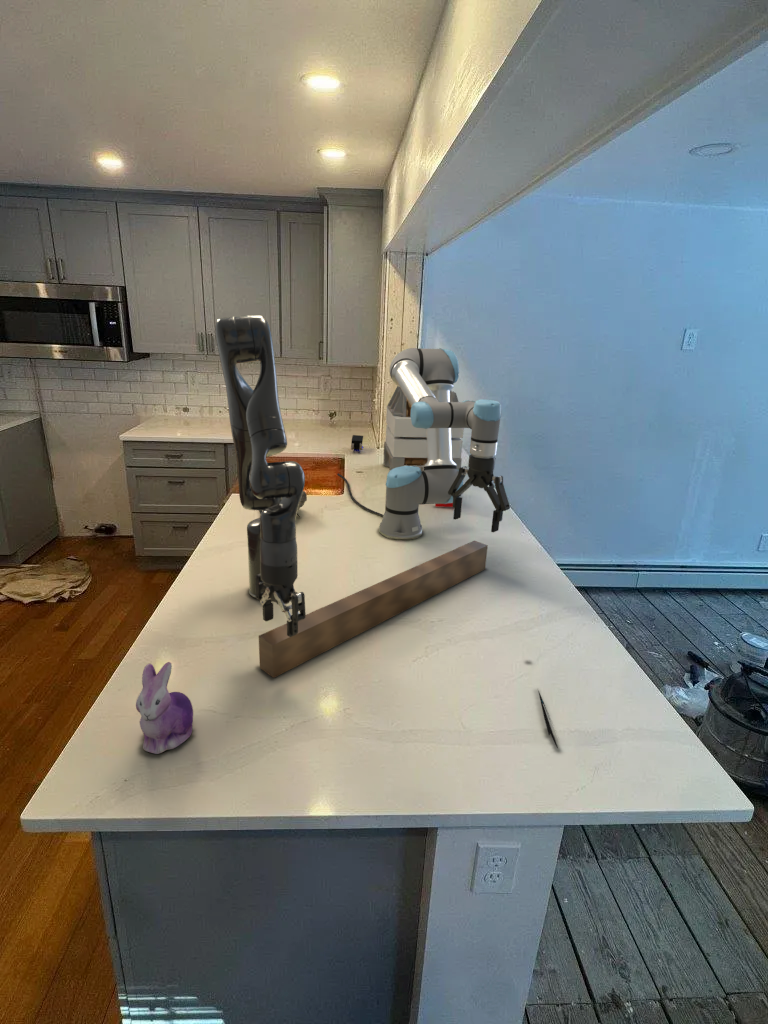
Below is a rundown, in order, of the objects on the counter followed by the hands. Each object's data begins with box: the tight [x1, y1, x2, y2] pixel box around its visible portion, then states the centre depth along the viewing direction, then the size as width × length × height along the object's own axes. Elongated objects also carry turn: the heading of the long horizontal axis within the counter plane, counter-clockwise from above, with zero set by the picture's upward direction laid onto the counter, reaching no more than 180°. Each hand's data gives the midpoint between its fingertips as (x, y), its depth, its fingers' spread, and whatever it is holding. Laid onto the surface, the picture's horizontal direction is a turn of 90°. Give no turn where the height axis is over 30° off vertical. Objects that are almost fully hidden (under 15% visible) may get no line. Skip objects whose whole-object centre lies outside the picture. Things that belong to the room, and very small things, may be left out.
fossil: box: [296, 490, 308, 518], centre depth 209 cm, size 22×10×15 cm
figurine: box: [135, 661, 194, 755], centre depth 100 cm, size 9×10×15 cm
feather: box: [528, 660, 560, 749], centre depth 116 cm, size 2×28×2 cm
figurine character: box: [350, 434, 364, 454], centre depth 311 cm, size 7×8×15 cm
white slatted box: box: [383, 385, 465, 471], centre depth 268 cm, size 34×33×41 cm
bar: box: [258, 540, 489, 679], centre depth 148 cm, size 80×5×8 cm, turn 137°
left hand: (280, 627), depth 121 cm, fingers open, 8 cm apart
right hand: (475, 524), depth 169 cm, fingers open, 13 cm apart
